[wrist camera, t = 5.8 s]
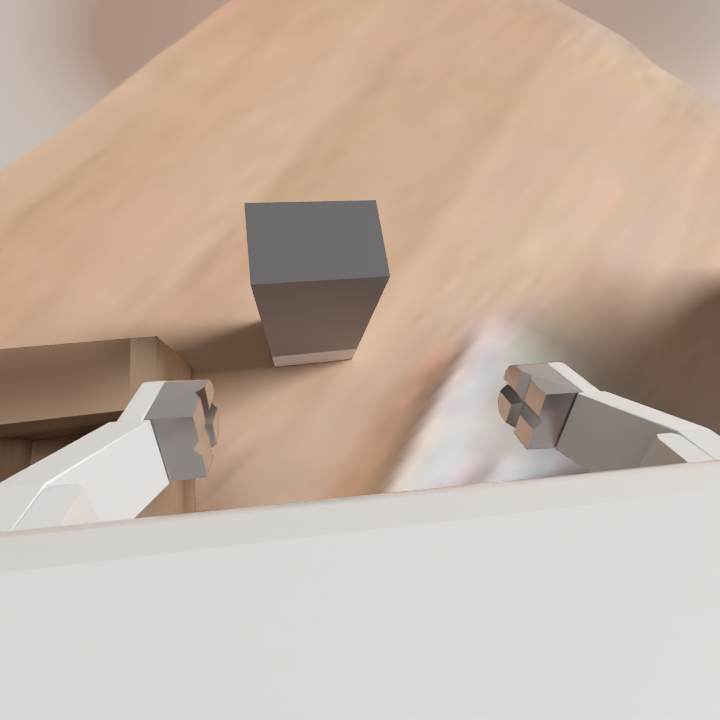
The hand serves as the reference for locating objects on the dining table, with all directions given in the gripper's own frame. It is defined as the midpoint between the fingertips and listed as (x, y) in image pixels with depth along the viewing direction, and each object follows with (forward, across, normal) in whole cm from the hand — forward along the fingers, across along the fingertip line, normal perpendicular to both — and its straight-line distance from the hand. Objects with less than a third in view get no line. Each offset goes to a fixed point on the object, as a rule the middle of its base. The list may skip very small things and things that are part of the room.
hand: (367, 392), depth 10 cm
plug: (+11, +1, +4) cm, 12 cm away
